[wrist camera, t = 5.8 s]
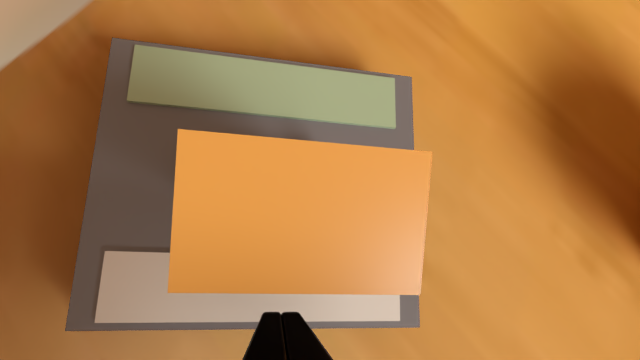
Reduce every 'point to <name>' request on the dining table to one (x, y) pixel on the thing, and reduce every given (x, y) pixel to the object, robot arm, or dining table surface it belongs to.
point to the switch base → (159, 176)
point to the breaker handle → (296, 216)
